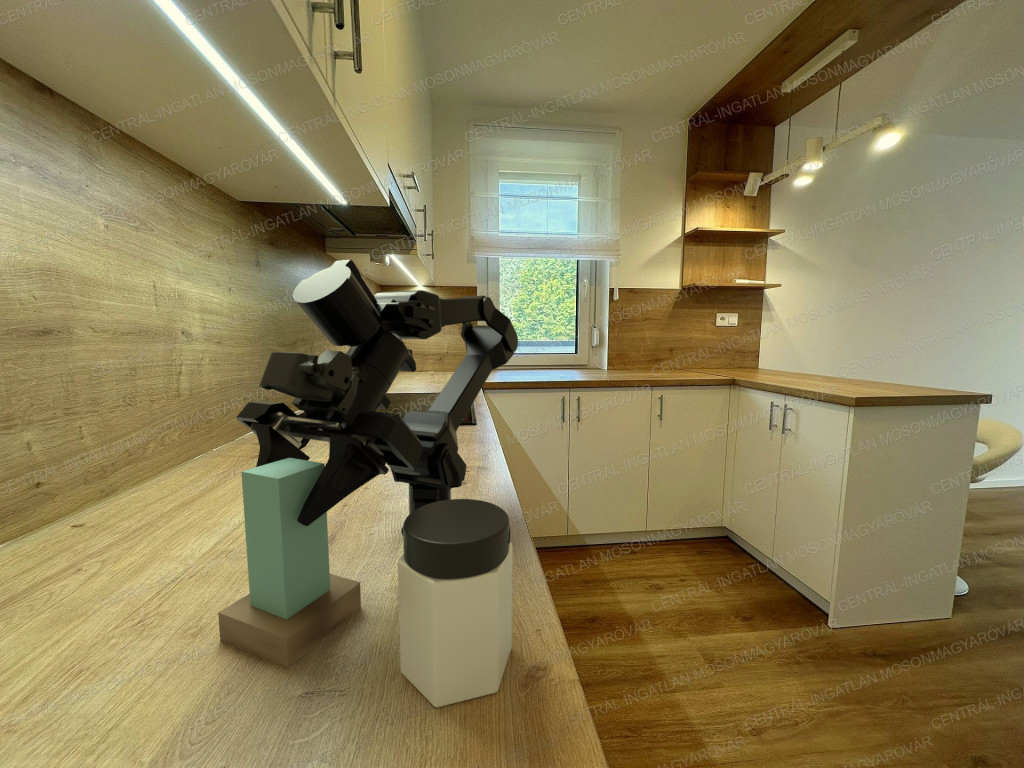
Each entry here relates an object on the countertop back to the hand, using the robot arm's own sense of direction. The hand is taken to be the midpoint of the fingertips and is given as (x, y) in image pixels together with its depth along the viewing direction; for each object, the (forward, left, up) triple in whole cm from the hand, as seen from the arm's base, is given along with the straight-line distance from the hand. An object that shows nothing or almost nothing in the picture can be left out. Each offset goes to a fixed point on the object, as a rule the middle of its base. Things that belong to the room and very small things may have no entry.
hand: (274, 517), depth 35 cm
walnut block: (-1, +1, -11) cm, 11 cm away
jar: (+3, +16, -11) cm, 20 cm away
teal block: (-1, 0, -8) cm, 8 cm away
